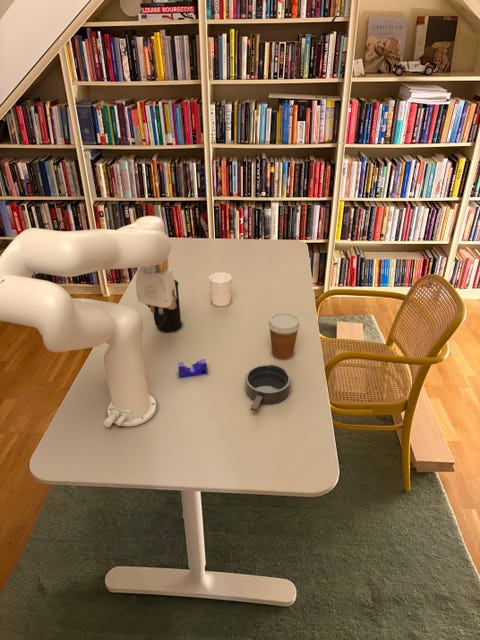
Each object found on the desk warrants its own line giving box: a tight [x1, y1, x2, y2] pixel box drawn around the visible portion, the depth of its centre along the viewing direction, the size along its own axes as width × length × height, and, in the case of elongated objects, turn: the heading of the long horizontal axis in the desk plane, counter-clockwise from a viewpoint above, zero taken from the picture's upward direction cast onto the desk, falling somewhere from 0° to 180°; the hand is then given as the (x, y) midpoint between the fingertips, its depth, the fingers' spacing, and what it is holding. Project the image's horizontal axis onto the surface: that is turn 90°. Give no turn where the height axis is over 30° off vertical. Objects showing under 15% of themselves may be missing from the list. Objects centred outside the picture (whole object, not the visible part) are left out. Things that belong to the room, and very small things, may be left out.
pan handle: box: [250, 394, 264, 412], centre depth 125 cm, size 6×2×1 cm, turn 159°
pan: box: [245, 364, 292, 405], centre depth 132 cm, size 12×12×4 cm
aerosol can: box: [157, 278, 183, 333], centre depth 156 cm, size 8×8×20 cm
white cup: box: [208, 272, 232, 307], centre depth 173 cm, size 8×8×10 cm
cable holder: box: [177, 358, 208, 379], centre depth 139 cm, size 8×4×4 cm, turn 102°
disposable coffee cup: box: [267, 312, 301, 360], centre depth 145 cm, size 10×10×12 cm
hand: (160, 323), depth 135 cm, fingers closed
